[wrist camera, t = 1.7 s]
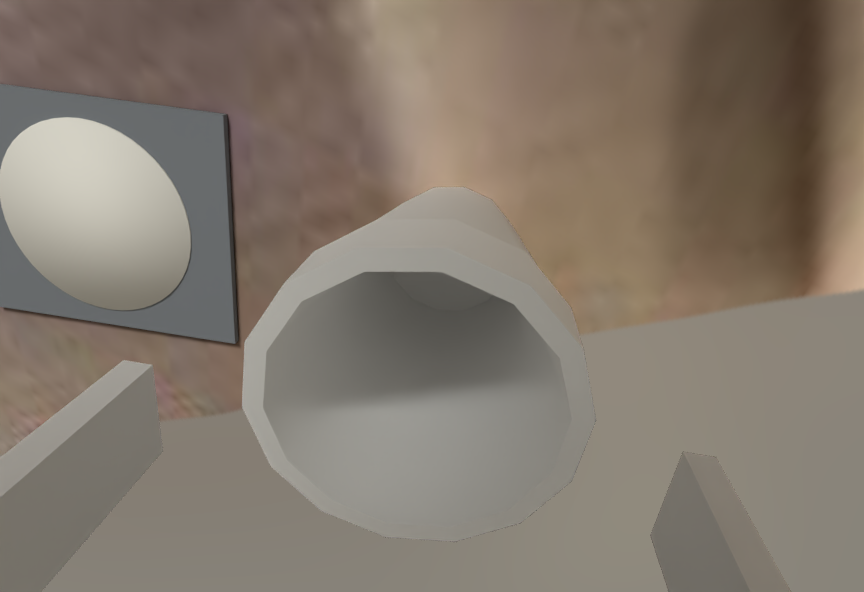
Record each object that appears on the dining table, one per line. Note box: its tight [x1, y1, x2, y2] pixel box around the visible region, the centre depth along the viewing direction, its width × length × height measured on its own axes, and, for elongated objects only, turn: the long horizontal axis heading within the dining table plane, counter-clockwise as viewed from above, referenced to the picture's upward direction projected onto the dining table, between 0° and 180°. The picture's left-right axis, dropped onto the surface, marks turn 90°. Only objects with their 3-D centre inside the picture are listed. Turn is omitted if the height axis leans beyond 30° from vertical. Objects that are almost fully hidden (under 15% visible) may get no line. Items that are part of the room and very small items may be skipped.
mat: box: [0, 84, 238, 344], centre depth 27 cm, size 12×14×1 cm
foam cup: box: [242, 187, 596, 542], centre depth 20 cm, size 10×9×13 cm
